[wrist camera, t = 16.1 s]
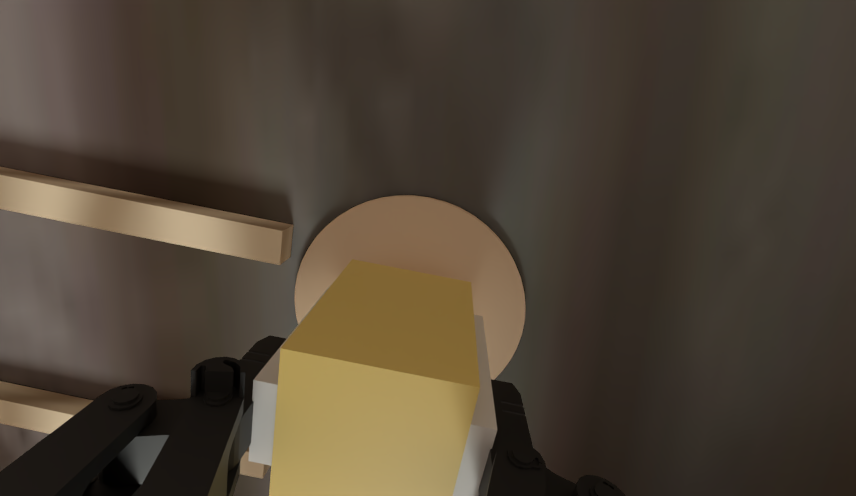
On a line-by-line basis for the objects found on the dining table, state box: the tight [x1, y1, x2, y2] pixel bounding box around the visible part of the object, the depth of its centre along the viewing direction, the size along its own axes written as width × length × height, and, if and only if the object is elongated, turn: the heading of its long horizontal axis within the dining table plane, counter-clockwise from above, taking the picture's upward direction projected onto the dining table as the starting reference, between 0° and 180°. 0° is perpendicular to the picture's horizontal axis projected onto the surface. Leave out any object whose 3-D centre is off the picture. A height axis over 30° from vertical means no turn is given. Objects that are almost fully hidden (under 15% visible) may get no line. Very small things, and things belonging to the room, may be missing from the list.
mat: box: [295, 195, 526, 380], centre depth 19 cm, size 11×11×1 cm
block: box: [269, 259, 480, 496], centre depth 14 cm, size 5×5×7 cm
